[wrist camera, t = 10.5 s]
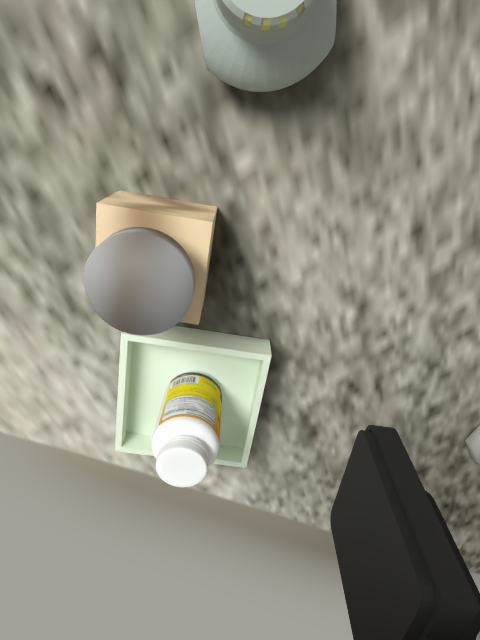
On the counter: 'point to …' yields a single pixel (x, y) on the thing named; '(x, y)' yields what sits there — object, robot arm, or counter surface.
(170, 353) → the tray
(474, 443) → the flask
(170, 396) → the supplement bottle
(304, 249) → the counter surface
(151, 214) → the tan box with knob
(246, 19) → the air freshener
